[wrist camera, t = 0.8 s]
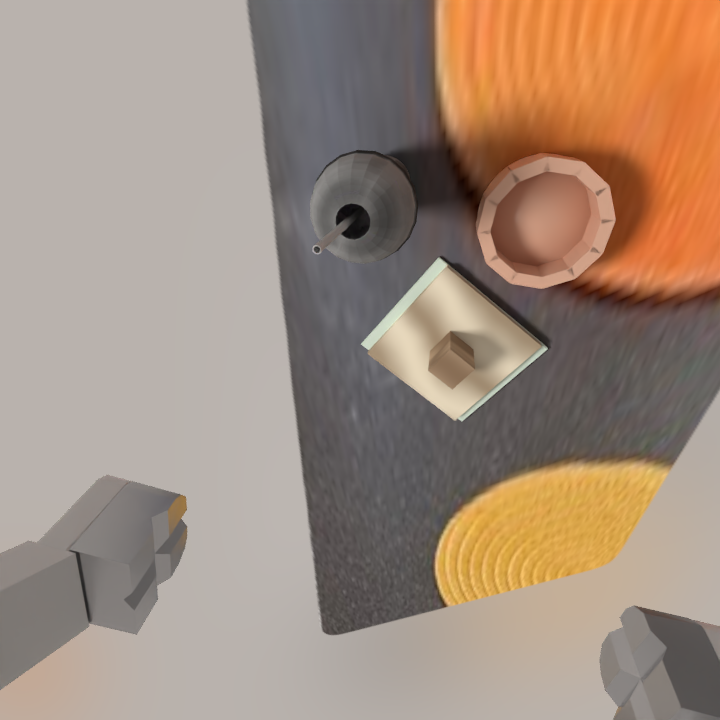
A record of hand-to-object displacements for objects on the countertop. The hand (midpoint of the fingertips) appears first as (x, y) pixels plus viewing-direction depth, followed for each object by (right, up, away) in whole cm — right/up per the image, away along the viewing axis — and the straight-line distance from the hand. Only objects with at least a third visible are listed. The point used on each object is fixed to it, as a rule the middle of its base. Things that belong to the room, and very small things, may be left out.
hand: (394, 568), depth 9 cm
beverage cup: (+2, +19, +33) cm, 39 cm away
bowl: (+15, +16, +32) cm, 39 cm away
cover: (+9, +5, +39) cm, 40 cm away
